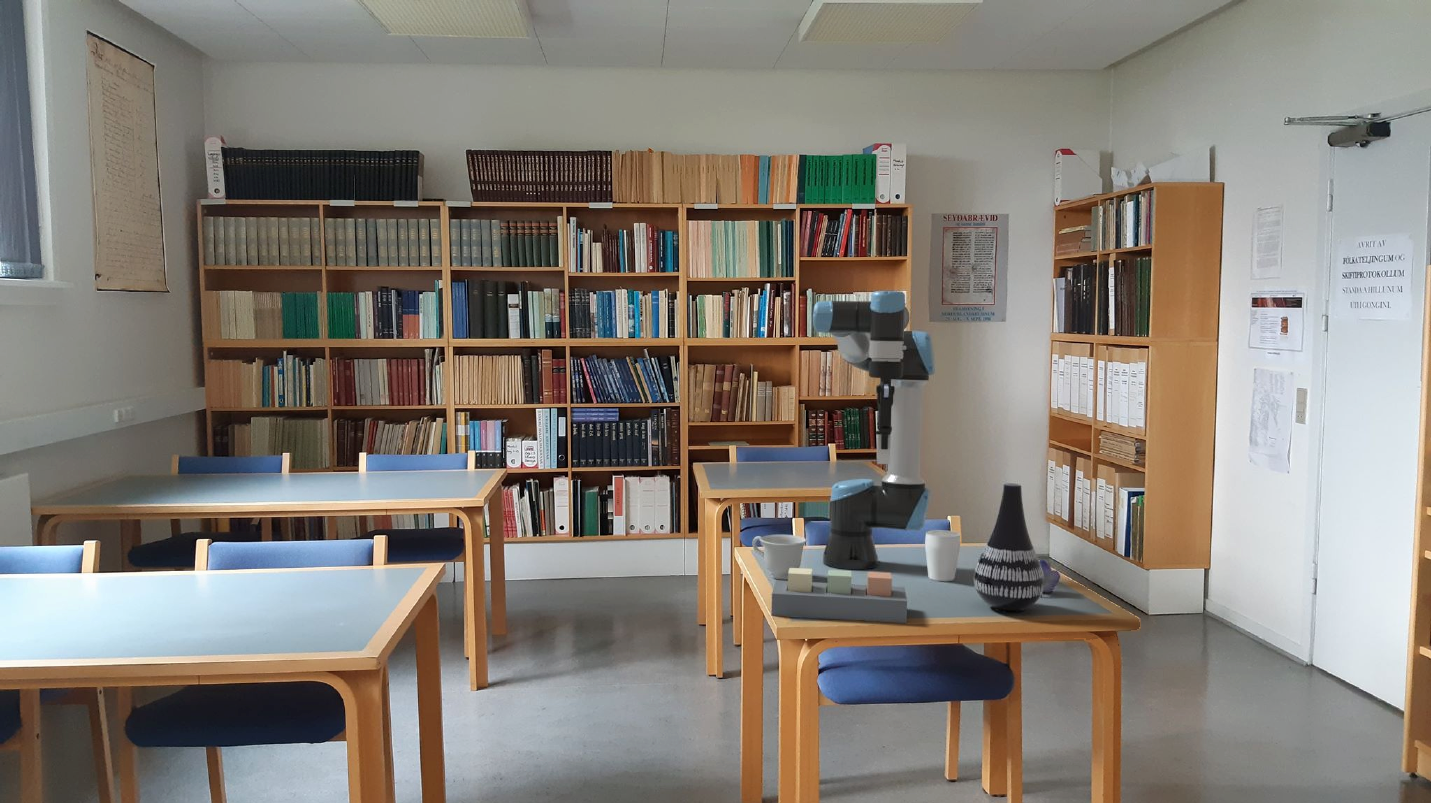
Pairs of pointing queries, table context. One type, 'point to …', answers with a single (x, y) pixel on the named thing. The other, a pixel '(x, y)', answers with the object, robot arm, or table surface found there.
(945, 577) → the cup
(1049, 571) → the flower
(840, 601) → the panel
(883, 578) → the button terracotta
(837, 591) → the button sage
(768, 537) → the teacup
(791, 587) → the button cream
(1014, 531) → the vase
